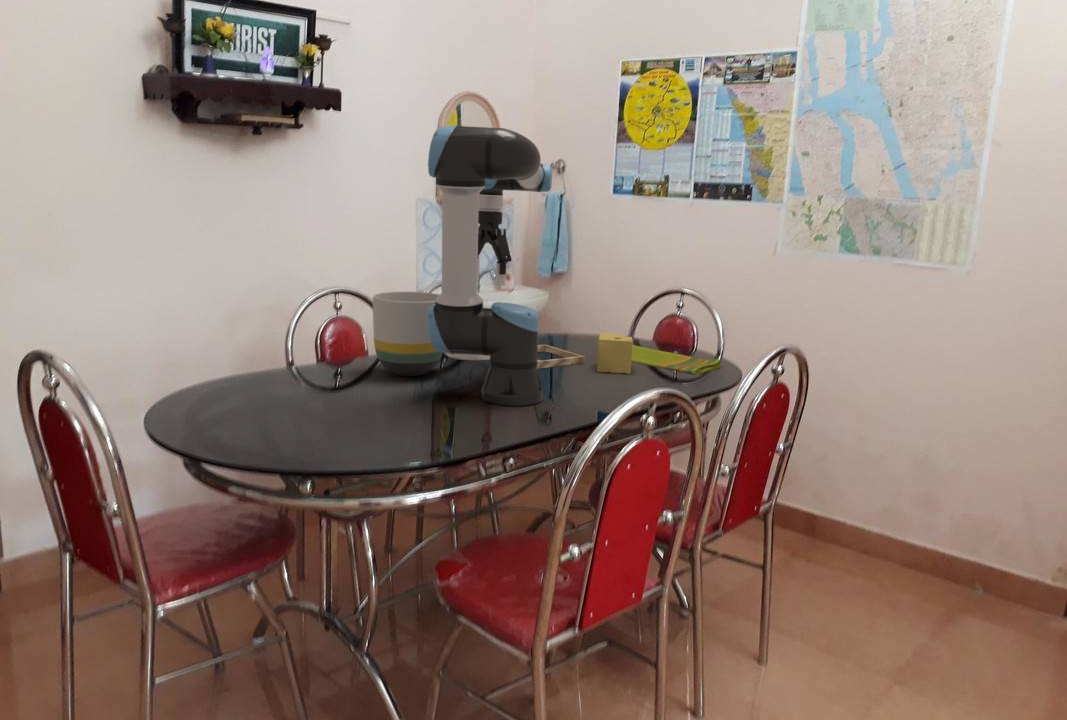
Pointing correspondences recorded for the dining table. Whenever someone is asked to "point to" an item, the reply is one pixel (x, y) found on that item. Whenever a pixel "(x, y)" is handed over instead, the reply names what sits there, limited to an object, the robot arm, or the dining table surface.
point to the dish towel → (673, 361)
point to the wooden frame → (567, 360)
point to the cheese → (614, 353)
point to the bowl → (468, 357)
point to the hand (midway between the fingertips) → (487, 283)
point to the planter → (404, 332)
